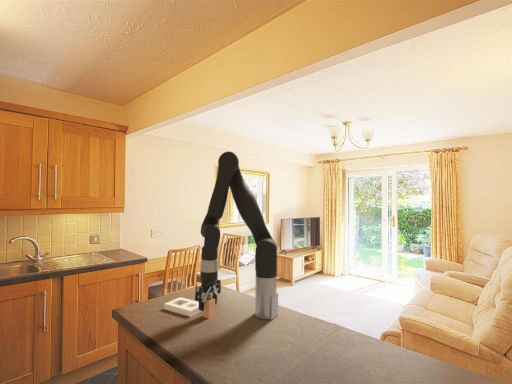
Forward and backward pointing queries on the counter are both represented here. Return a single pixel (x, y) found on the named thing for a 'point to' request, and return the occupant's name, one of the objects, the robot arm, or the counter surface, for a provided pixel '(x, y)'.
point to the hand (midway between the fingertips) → (208, 307)
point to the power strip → (183, 306)
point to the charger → (209, 307)
